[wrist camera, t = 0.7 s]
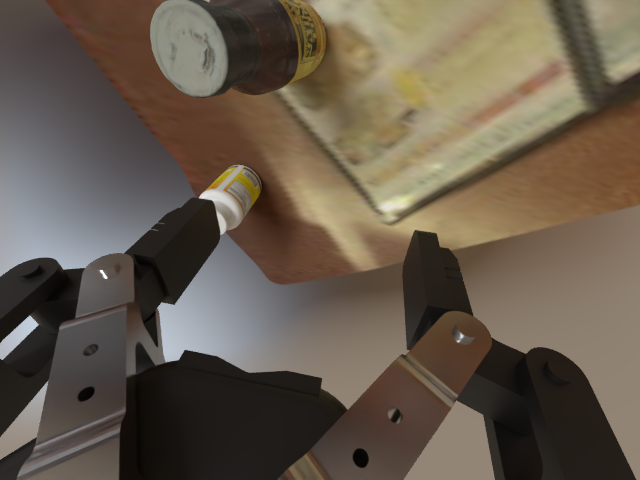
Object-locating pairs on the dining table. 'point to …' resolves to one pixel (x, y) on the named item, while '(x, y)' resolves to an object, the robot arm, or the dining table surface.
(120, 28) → the dining table surface
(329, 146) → the dining table surface
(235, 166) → the supplement bottle
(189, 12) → the sauce bottle
